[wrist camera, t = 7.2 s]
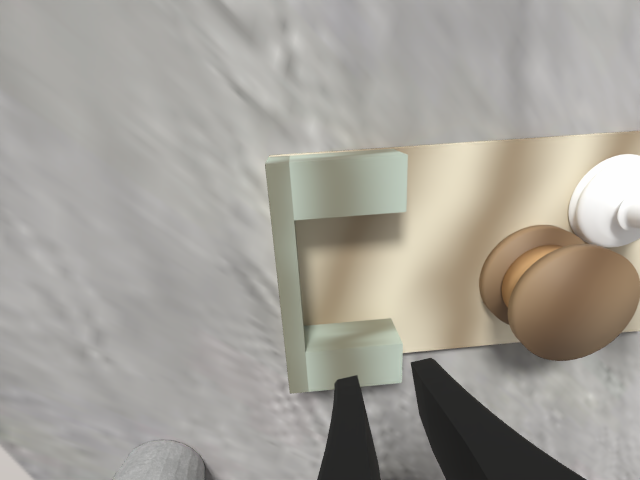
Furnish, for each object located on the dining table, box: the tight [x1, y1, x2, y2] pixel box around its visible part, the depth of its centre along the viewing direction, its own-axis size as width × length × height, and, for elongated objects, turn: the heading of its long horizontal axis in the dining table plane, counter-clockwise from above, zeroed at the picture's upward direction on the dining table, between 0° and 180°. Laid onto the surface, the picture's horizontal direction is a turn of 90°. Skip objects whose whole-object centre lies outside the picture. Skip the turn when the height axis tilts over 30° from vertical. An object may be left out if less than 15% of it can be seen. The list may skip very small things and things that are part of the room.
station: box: [265, 131, 640, 394], centre depth 18 cm, size 22×12×4 cm, turn 93°
